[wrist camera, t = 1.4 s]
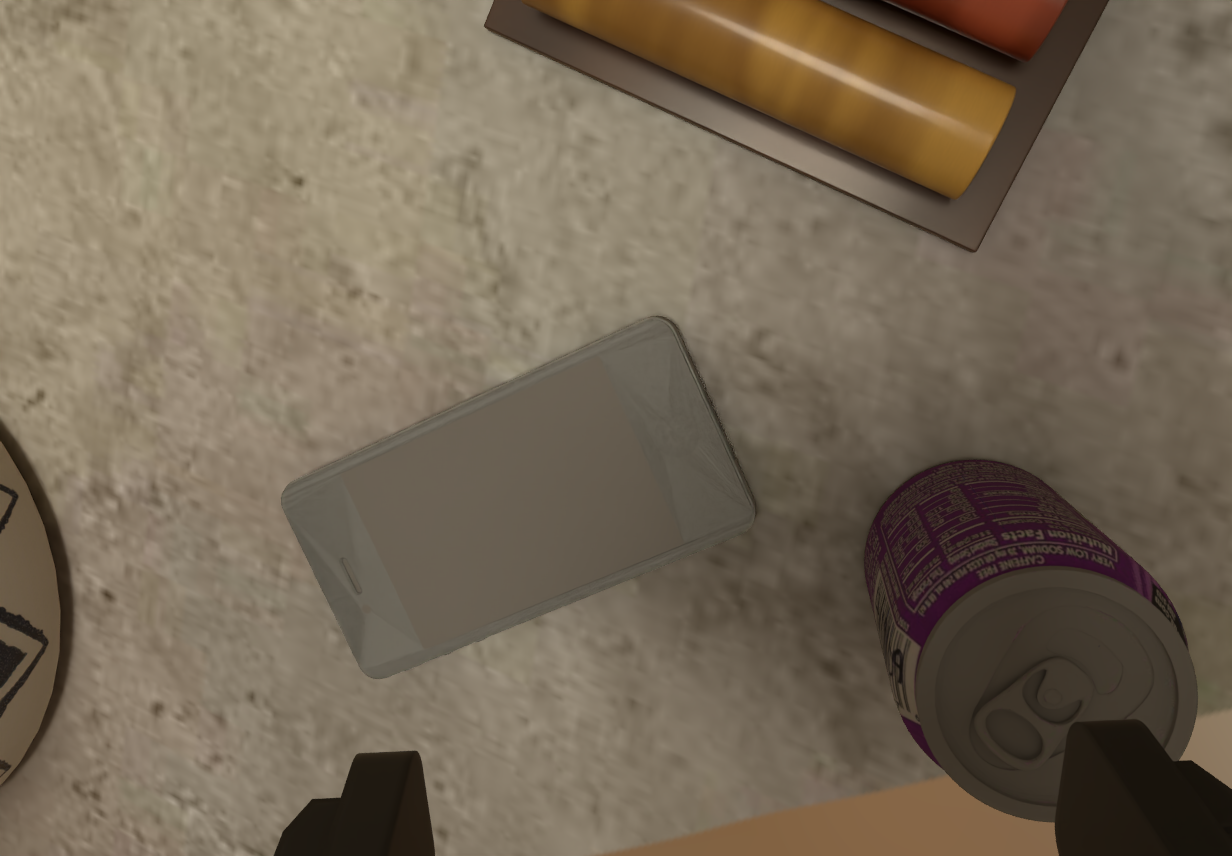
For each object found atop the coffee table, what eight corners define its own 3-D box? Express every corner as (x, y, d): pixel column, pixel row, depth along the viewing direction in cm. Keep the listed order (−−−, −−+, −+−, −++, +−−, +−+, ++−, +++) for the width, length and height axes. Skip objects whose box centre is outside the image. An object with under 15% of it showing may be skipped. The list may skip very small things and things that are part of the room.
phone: (764, 520, 37) (763, 529, 35) (379, 676, 40) (366, 689, 39) (669, 308, 36) (664, 309, 35) (286, 484, 39) (270, 491, 38)
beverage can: (974, 696, 36) (1059, 899, 25) (820, 562, 37) (832, 701, 25) (1125, 551, 35) (1292, 695, 23) (963, 412, 35) (1048, 486, 23)
